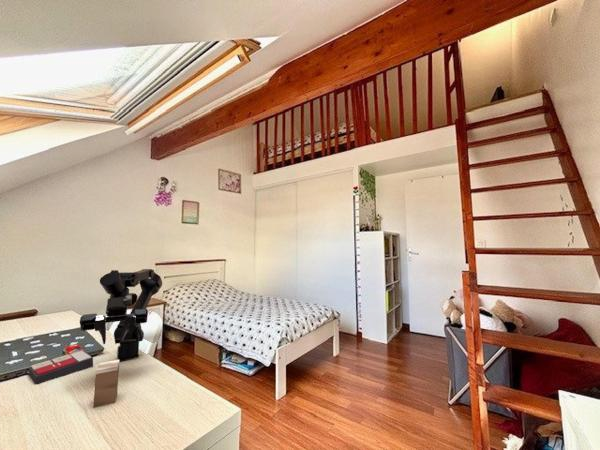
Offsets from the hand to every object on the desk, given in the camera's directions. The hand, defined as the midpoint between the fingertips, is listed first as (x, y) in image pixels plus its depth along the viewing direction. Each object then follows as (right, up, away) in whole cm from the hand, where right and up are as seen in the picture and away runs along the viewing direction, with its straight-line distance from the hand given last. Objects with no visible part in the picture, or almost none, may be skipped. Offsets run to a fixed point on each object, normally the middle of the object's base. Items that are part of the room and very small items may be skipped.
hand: (112, 342), depth 81 cm
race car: (-32, -16, +21) cm, 41 cm away
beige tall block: (+4, -13, -8) cm, 16 cm away
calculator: (-25, -15, +9) cm, 30 cm away
